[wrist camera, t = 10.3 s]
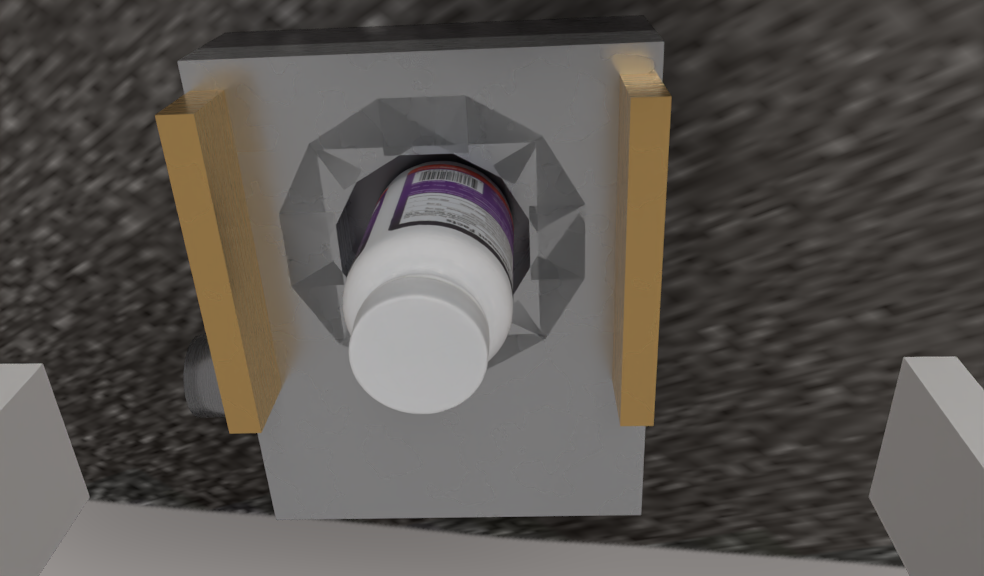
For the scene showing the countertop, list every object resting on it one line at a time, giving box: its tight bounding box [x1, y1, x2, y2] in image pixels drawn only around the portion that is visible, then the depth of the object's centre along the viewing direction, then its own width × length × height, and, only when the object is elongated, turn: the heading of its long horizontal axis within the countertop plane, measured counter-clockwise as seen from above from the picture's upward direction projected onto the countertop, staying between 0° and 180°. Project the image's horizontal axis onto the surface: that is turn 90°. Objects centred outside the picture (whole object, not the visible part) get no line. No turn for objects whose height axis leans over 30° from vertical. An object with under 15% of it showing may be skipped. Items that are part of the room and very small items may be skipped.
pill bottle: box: [343, 161, 514, 414], centre depth 28 cm, size 5×5×10 cm
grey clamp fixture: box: [155, 16, 672, 520], centre depth 33 cm, size 20×19×8 cm
